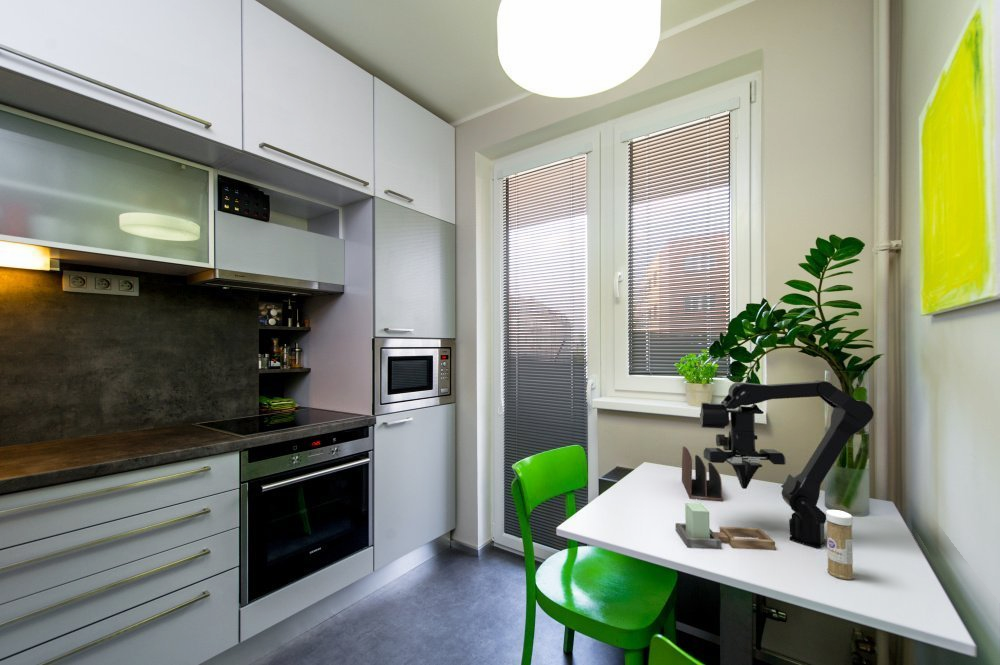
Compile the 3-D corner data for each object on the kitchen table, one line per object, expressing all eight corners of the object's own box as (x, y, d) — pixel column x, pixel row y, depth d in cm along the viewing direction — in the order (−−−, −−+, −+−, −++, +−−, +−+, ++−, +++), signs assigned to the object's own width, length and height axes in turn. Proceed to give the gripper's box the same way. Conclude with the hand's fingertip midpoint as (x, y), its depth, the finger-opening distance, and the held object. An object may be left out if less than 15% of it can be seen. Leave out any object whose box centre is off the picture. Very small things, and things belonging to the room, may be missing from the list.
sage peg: (709, 543, 109) (709, 511, 109) (693, 543, 109) (692, 510, 109) (701, 533, 115) (700, 503, 115) (685, 532, 115) (685, 502, 115)
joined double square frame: (757, 534, 115) (757, 526, 115) (777, 551, 105) (777, 543, 105) (675, 530, 117) (675, 523, 117) (687, 547, 107) (687, 539, 107)
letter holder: (689, 499, 142) (688, 456, 142) (681, 481, 161) (681, 443, 161) (722, 502, 139) (722, 458, 140) (710, 483, 158) (710, 445, 159)
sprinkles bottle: (822, 572, 95) (821, 510, 96) (835, 568, 97) (834, 507, 98) (846, 582, 91) (844, 518, 92) (859, 578, 93) (857, 514, 93)
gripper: (764, 425, 123) (765, 480, 123) (696, 423, 125) (697, 478, 125) (785, 432, 112) (787, 493, 111) (710, 431, 114) (711, 490, 114)
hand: (743, 488), depth 116 cm, fingers closed
